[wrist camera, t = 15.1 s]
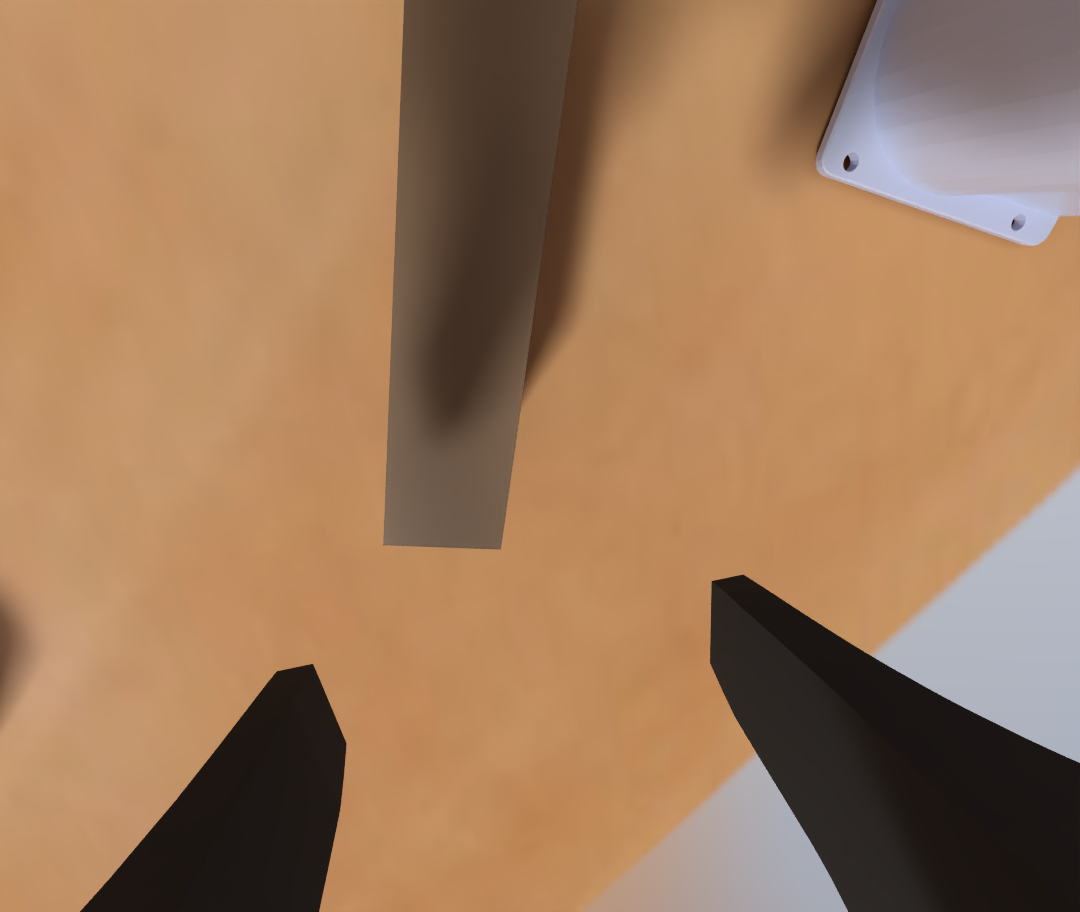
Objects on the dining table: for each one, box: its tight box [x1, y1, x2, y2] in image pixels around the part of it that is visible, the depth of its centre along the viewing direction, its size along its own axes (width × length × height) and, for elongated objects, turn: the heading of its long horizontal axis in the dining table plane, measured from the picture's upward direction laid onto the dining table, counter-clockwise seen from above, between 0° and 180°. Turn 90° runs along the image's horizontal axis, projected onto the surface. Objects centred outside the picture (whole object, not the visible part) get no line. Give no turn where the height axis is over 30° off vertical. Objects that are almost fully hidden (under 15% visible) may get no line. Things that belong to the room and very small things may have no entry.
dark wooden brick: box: [383, 0, 578, 549], centre depth 14 cm, size 3×14×6 cm, turn 171°
